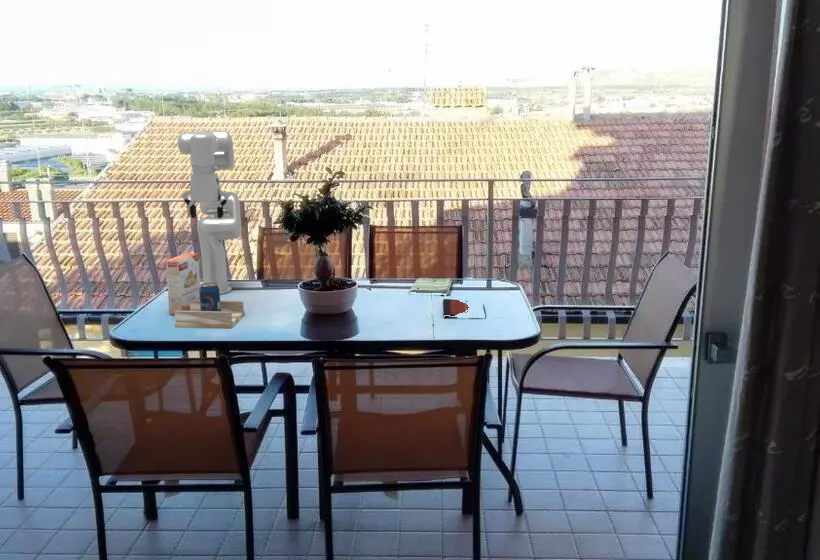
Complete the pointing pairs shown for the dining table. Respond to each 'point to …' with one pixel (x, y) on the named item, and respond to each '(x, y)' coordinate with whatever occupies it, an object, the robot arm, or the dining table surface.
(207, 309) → the soda can
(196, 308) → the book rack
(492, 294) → the dining table surface
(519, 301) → the dining table surface
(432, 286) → the dish towel
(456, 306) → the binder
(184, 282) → the cracker box
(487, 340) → the dining table surface
